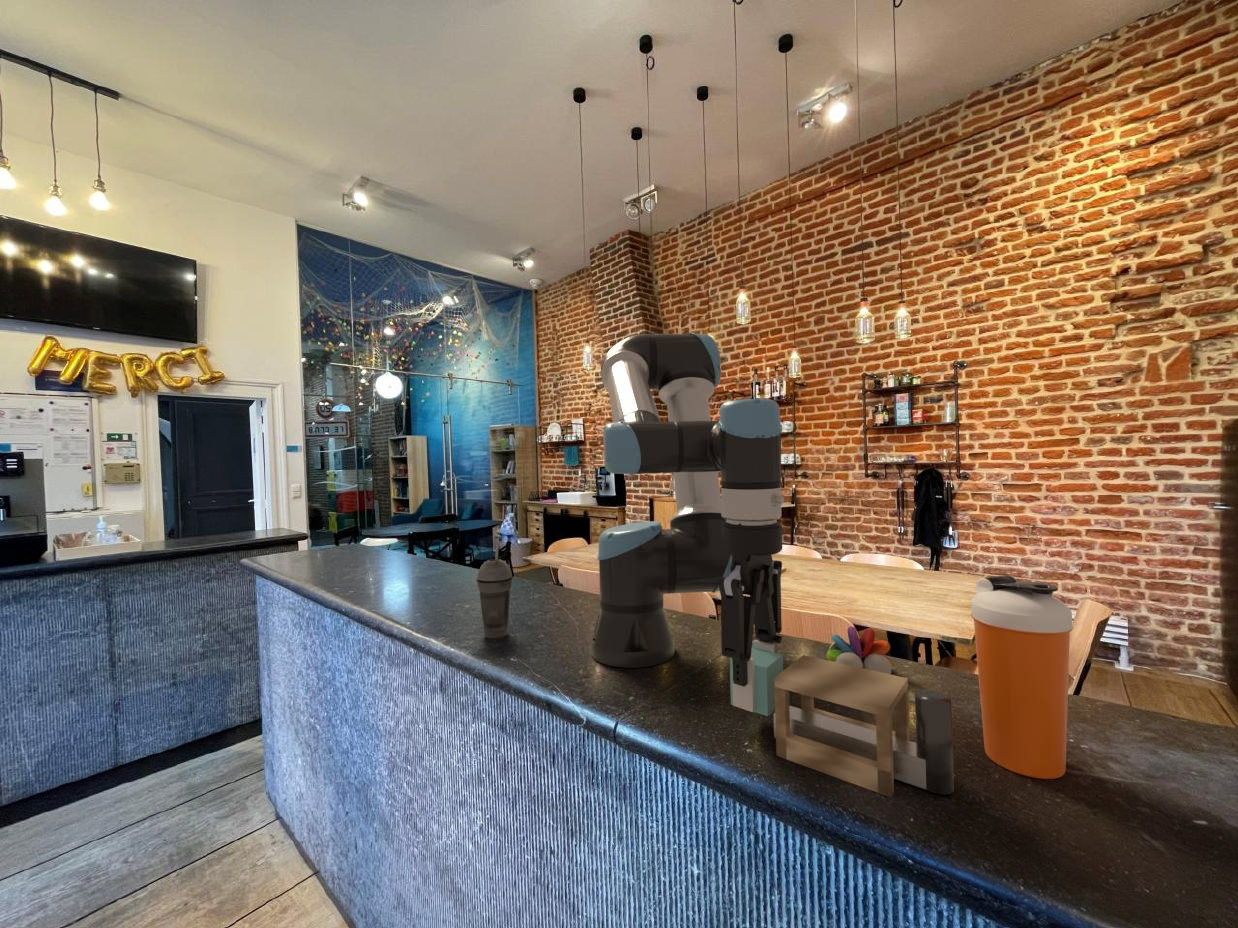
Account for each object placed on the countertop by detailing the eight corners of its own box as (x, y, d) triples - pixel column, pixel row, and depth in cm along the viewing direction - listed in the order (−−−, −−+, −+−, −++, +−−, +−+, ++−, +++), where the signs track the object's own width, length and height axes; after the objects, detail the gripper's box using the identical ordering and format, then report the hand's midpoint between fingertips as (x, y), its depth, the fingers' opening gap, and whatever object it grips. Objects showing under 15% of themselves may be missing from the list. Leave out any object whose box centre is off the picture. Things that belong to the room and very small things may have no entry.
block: (730, 704, 65) (729, 658, 65) (748, 689, 69) (747, 646, 69) (767, 716, 62) (766, 667, 62) (784, 700, 66) (782, 654, 66)
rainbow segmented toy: (900, 685, 77) (899, 637, 77) (832, 681, 79) (830, 634, 79) (884, 664, 85) (883, 620, 85) (822, 660, 87) (821, 618, 87)
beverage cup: (498, 626, 110) (495, 534, 110) (521, 632, 106) (519, 536, 106) (470, 636, 104) (467, 538, 104) (494, 643, 100) (491, 541, 100)
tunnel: (776, 755, 59) (774, 677, 59) (805, 724, 66) (803, 654, 66) (891, 797, 51) (888, 707, 51) (910, 757, 58) (907, 678, 58)
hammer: (773, 737, 62) (771, 664, 62) (784, 727, 65) (782, 656, 65) (951, 798, 50) (948, 707, 50) (956, 782, 53) (953, 695, 53)
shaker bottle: (1047, 794, 51) (1041, 594, 51) (957, 750, 59) (952, 577, 59) (1095, 771, 54) (1089, 584, 55) (1004, 732, 63) (999, 569, 63)
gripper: (745, 533, 56) (749, 740, 57) (806, 514, 70) (808, 681, 70) (688, 527, 61) (692, 718, 62) (755, 511, 75) (758, 667, 75)
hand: (754, 698), depth 66 cm, fingers closed on block, 5 cm apart
